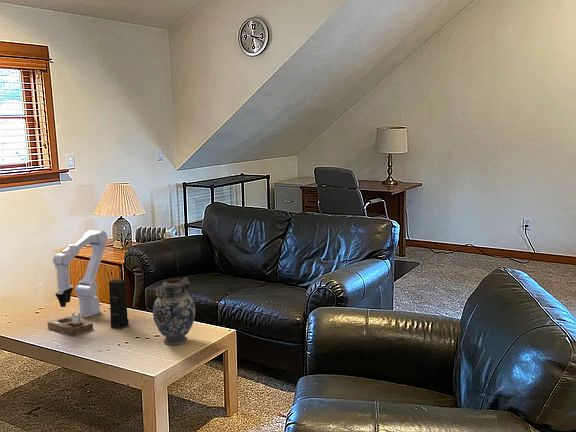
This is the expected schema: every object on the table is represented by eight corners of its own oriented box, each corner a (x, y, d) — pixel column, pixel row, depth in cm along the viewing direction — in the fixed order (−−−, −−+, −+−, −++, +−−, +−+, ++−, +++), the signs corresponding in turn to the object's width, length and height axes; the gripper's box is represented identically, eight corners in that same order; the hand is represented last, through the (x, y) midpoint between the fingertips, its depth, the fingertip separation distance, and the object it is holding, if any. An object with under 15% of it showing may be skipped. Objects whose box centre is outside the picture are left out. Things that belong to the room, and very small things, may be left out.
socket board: (68, 321, 283) (67, 315, 282) (93, 329, 271) (92, 322, 271) (47, 328, 274) (47, 321, 274) (72, 336, 263) (72, 329, 262)
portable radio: (108, 327, 274) (104, 276, 270) (116, 323, 279) (113, 273, 276) (121, 329, 271) (118, 278, 267) (129, 325, 276) (126, 275, 273)
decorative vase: (174, 330, 268) (172, 272, 263) (206, 336, 259) (204, 277, 255) (142, 345, 249) (140, 283, 245) (176, 353, 241) (174, 289, 236)
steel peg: (79, 328, 273) (78, 312, 272) (83, 330, 270) (82, 314, 269) (71, 330, 270) (70, 314, 269) (74, 332, 267) (73, 316, 266)
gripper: (68, 281, 271) (70, 308, 273) (75, 273, 285) (77, 299, 287) (52, 281, 270) (54, 309, 272) (61, 274, 285) (63, 300, 287)
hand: (65, 304), depth 280 cm, fingers open, 7 cm apart
